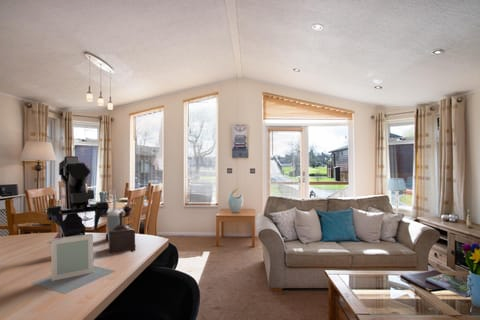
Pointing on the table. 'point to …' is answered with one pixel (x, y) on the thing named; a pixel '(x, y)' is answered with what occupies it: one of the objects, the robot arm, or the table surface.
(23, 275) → the table surface
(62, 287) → the mat
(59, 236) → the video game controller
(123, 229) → the coffee grinder
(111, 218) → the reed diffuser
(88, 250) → the picture frame
